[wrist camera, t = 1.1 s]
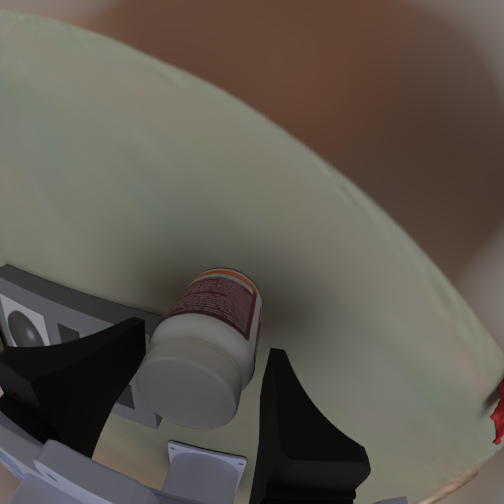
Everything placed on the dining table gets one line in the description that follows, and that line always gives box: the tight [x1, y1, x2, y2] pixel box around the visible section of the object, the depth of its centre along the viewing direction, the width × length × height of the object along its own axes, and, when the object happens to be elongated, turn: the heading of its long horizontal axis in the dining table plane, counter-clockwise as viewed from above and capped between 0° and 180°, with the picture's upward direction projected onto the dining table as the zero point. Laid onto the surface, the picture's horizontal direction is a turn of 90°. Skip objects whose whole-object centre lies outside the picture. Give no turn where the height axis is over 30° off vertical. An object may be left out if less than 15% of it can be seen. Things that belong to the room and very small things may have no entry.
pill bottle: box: [136, 268, 262, 429], centre depth 13 cm, size 5×5×8 cm
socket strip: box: [0, 264, 163, 429], centre depth 18 cm, size 10×18×3 cm, turn 81°
